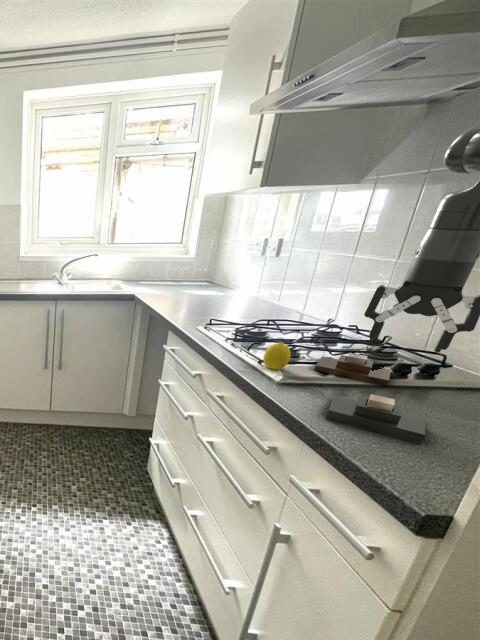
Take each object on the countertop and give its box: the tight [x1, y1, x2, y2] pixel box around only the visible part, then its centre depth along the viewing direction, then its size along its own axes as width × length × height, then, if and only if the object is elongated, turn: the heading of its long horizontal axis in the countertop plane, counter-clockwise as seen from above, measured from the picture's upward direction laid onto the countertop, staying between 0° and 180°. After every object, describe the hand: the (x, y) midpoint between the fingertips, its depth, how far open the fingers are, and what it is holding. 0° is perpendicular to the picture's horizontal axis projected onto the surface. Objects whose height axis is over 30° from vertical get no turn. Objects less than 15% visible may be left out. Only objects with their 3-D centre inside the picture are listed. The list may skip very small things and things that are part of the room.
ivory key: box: [367, 393, 396, 412], centre depth 83 cm, size 4×4×2 cm
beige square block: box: [346, 352, 368, 365], centre depth 106 cm, size 4×4×2 cm
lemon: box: [263, 341, 291, 370], centre depth 109 cm, size 6×6×8 cm
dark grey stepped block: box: [324, 395, 426, 446], centre depth 84 cm, size 14×10×4 cm
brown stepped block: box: [314, 354, 392, 386], centre depth 107 cm, size 14×10×4 cm
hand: (404, 345), depth 79 cm, fingers open, 8 cm apart
